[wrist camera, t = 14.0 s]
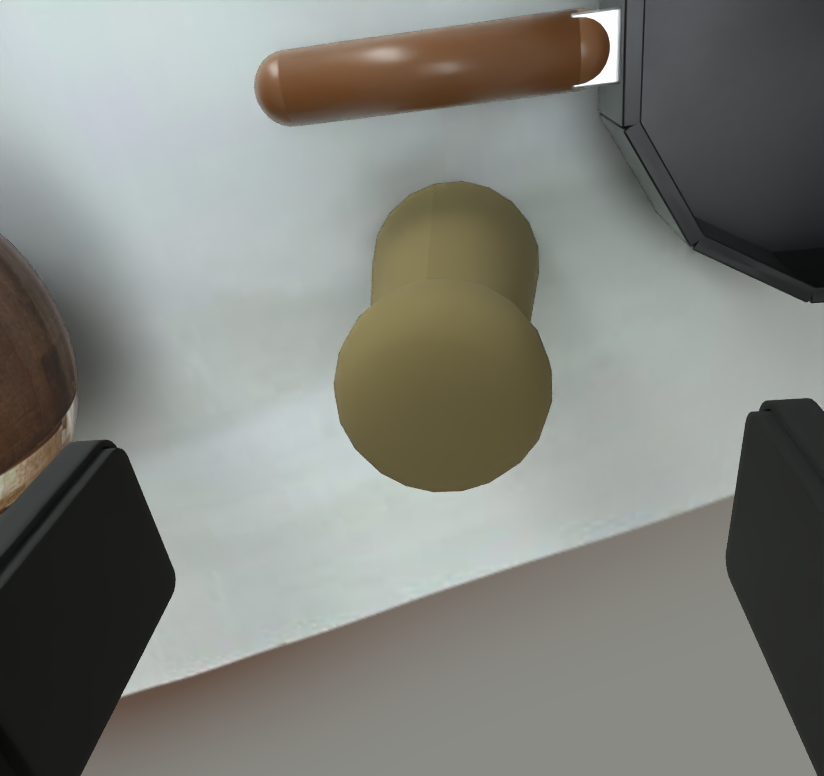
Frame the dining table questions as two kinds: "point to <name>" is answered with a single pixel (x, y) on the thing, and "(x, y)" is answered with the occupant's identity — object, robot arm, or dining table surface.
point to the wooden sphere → (31, 377)
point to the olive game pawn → (447, 343)
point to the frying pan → (628, 107)
